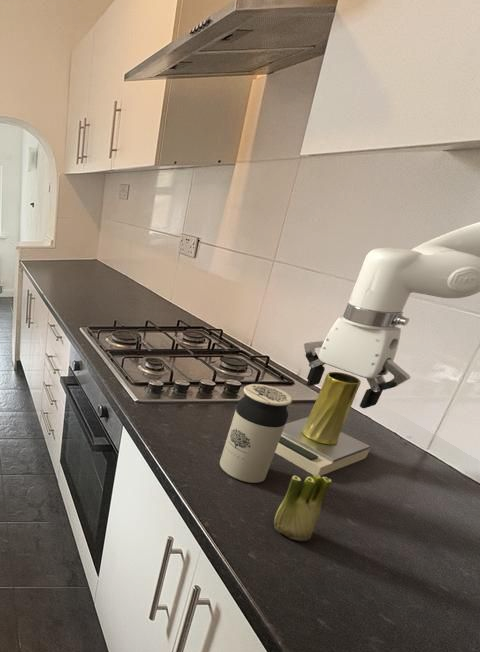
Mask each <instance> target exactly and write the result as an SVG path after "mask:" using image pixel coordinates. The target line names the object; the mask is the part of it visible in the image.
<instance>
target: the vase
mask: <svg viewBox="0 0 480 652" xmlns="http://www.w3.org/2000/svg"><path fill="white" fill-rule="evenodd" d="M360 386H361V379H359V378H358V377H356V376H354V375H353V374H352V375H351V374H349V373H345V372H340V371H329V372H327V374H326V376H325V378H324V380H323V383H322V386H321V388H320V390H319V393H318V395H317V398H316V400H315V402H314V405H313V407H312V409H311V411H310V413H309V415H308V416H307V417H308V419H307V422H306V424H305V426H304V428H303V429H302V432H303V434H304V435H305V436H306V437H308V438H310V439H311V440H314V441H316V442H319V443H323V444H336V443H338V438H339V435H340V433H341V432H342V431H343V428H344V426H345V422H346V420H347V418H348V416H349V413H350V410H351V408H352V405H353V402H354V400H355V397H356V395H357V392H358V390H359V388H360Z"/></svg>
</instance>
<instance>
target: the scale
mask: <svg viewBox="0 0 480 652" xmlns="http://www.w3.org/2000/svg"><path fill="white" fill-rule="evenodd" d="M370 450H371V447H370V448H369V449H368V450H365V451H363V452H360V453H357V454H355V455H352V456H350V457H347V458H344V459H342V460H339V461H336V462H334V463H332V462H330V461H328V460H326V459H324V458H323V457H321V456H319V455H317V454H315V453H313V452H311V451H310V450H308V449H306V448H304V447H302V446H300V445H299V444H297V443H295V442H293V441H291V440H289V439H287V438H286V437H284V436H282V435H281V437H280V440H279V443H278V445H277V448H276V451H275V453H274V454H276V455H278V456H280V457H281V458H283V459H285V460H287V461H288V462H290V463H291V464H294V465H295V466H297V467H299V469H302V470H304V471H306V472H307V473H309V474H311V475H312V476H313V474H316V475H319V476H321V477H323V476H324V475H327V474H329V473H332V472H334V471H337V470H339V469H342V468H345V467H346V466H350V465H352V464H355V463H357V462H360V461H362V460H364V459H366V458H367V456H368V455H369V453H370Z"/></svg>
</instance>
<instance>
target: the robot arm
mask: <svg viewBox="0 0 480 652" xmlns="http://www.w3.org/2000/svg"><path fill="white" fill-rule="evenodd" d="M412 293H413V294H420V295H426V296H431V297H436V298H441V299H462V298H467V297H471V296H474V295H476V294H479V293H480V221H479V222H475V223H472V224H469V225H466V226H463V227H460V228H457V229H454V230H452V231H449V232H446V233H444V234H442V235H439V236H438V237H435V238H432V239H430V240H427V241H425V242H423V243H421V244H419V245H416V246H415V247H413V248H411V249H407V248H397V247H378V248H373V249H372V250H370V251H369V252H368V253H367V254H366V256H365V258H364V260H363V263H362V266H361V269H360V270H359V274H358V276H357V279H356V282H355V284H354V286H353V289H352V292H351V295H350V297H349V300H348V302H347V304H346V307H345V310H344V312H343V315H340V316H338V318H336V320H335V322H334V323H333V324H332V327H331V328H330V330H329V331H328V333H327V335H326V336H325V338H324V340H318V341H317V340H316V341H309V342H305V343H304V344H303V347H304V352H305V354H304V355H305V358H306V360H307V362H308V366H309V368H310V370H309V372H308V374H307V377H306V379H307V381H306V386H308V387H313V386H316V385H319V384H320V383H321V380H322V377H323V375H324V373H325V370H326V368H325V365H327V366H330V367H333V368H335V369H339V370H341V371H344V372H347V373H348V374H352V375H355V376H358V377H360V378H363V379H366V381H367V383H368V385H369V387H370V388H368V389H366V390H365V391H364V395H363V396H362V399H361V401H360V402H359V407H360V408H361V409H368V408H371V407H373V406H376V405H377V404H378V402H379V400H380V397H381V396H382V394H383V391H386V390H390V389H393V388H396V387H399V386H401V385H402V384H404V383H405V382H407V381H409V380H410V379H411V375H410V374H409V373H408V372H407V371H405V370H404V369H403V368H401V366H399V365H398V364H397V363H396V362H394V360H395V357H396V354H397V351H398V346H399V342H400V337H401V332H402V331H401V330H402V329H401V327H398V326H407V325H408V324H409V321H410V318H409V317H408V318H407V317H405V316H403V314H404V311H403V310H404V308H405V306H406V304H407V302H408V299H409V297H410V295H411V294H412ZM318 348H320V350H319V353H318V354H317V352H316V349H318ZM389 373H390V374H391V375H393V378H392V379H391V380H389V381H386V379H385V377H384V376H386V375H388V374H389Z"/></svg>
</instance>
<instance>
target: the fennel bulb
mask: <svg viewBox="0 0 480 652" xmlns="http://www.w3.org/2000/svg"><path fill="white" fill-rule="evenodd" d="M332 483H333V480H332V479H331V478H328V477H327V476H319V475H316V474H313V475H312V476H307V477H306V478H305V479H304V481H303V482H302V479H301V478H300V477H299V476H297V475H292V476H291V478H290V482H289V484H288V488H287V489H286V493H285V495H284V498H283V500H282V502H280V504H279V506H278V508H277V510H276V512H275V515H274V518H273V519H274V520H273V528H274V529H275V530H276V531H277V532H278V533H280V534H282V535H283V536H285V537H287V538H288V539H290V540H293V541H296V542H306V541H309V540H310V539H311V538H312V535H313V533H314V530H315V528H316V525H317V523H318V521H319V517H320V514H321V511H322V510H321V509H322V504H323V500H324V497H325V494H326V493H327V491H328V490H329V488H330V486H331V485H332Z"/></svg>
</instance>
